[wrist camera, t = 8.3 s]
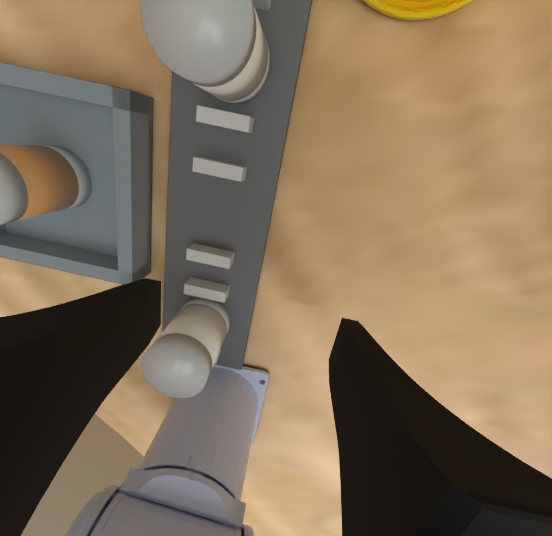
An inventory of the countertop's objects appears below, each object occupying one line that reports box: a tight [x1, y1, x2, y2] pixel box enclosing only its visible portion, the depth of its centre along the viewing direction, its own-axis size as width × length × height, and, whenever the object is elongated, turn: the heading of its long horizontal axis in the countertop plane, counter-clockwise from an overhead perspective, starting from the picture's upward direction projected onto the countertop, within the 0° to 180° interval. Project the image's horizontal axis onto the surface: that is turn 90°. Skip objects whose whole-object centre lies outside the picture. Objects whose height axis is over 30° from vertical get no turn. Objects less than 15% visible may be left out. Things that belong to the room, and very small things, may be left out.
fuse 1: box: [140, 0, 271, 104], centre depth 13 cm, size 4×4×6 cm
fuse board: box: [162, 0, 312, 370], centre depth 19 cm, size 26×7×2 cm, turn 169°
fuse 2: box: [141, 297, 231, 398], centre depth 19 cm, size 4×4×6 cm
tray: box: [0, 63, 153, 284], centre depth 18 cm, size 12×12×2 cm
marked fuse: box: [0, 145, 92, 225], centre depth 16 cm, size 4×4×6 cm
